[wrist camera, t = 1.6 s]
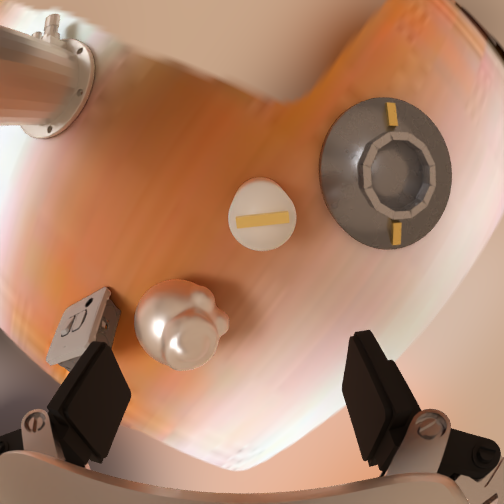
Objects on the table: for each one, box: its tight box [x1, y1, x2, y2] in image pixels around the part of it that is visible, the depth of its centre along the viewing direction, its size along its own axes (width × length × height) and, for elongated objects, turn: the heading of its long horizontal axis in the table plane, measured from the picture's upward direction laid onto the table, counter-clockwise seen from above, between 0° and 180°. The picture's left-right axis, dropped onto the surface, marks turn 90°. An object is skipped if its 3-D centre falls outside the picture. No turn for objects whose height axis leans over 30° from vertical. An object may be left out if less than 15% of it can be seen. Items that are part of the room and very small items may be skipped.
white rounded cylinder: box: [228, 177, 296, 251], centre depth 24 cm, size 5×5×8 cm
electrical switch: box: [46, 287, 121, 372], centre depth 28 cm, size 9×5×9 cm, turn 116°
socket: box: [319, 98, 452, 249], centre depth 25 cm, size 16×16×2 cm
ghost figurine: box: [134, 279, 229, 371], centre depth 26 cm, size 9×10×10 cm
